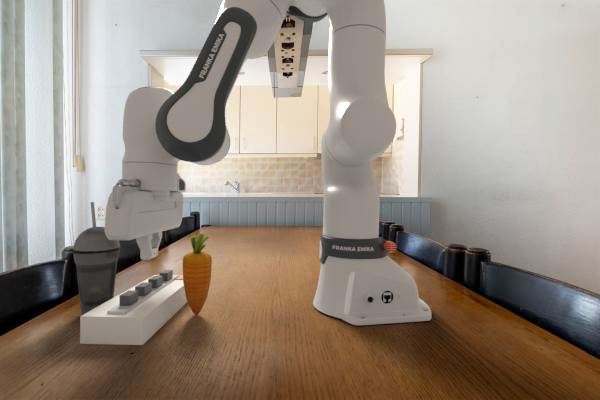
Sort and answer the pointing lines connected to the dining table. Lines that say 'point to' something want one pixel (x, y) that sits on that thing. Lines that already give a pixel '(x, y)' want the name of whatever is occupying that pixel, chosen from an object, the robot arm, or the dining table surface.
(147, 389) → the dining table surface
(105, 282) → the beverage cup
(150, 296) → the breaker panel
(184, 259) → the carrot
